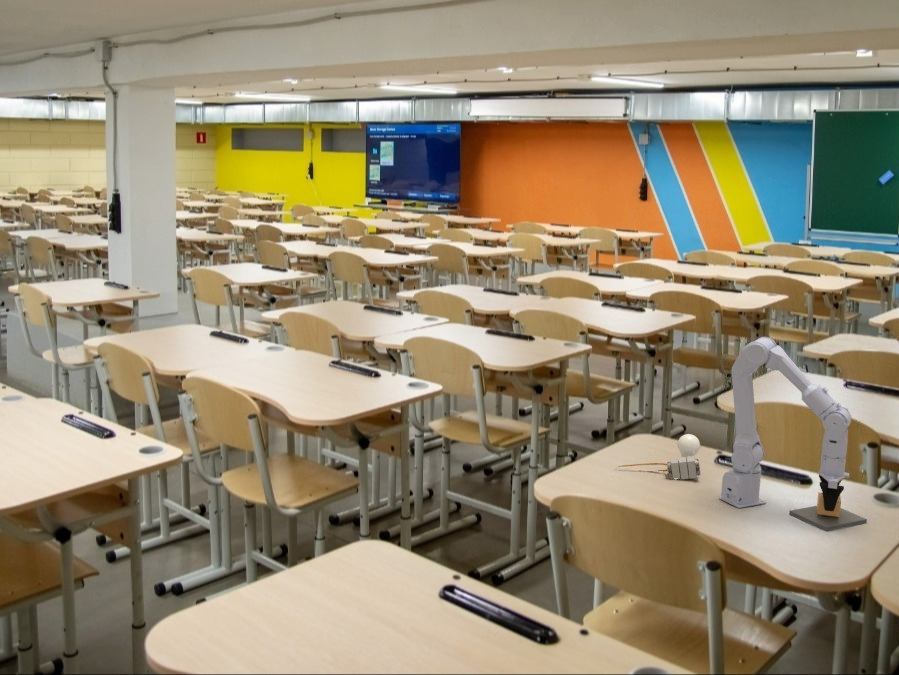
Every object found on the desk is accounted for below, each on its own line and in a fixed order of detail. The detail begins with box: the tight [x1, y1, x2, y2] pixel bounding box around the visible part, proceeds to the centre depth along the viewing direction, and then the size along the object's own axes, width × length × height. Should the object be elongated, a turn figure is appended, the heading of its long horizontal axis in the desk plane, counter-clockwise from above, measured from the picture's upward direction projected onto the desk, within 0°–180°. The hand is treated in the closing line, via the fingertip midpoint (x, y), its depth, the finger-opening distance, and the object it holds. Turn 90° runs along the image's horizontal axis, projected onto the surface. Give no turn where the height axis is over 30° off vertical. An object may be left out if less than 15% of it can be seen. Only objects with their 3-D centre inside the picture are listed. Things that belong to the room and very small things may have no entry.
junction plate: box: [788, 505, 868, 532], centre depth 236 cm, size 14×12×4 cm
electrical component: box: [617, 456, 701, 480], centre depth 267 cm, size 24×6×5 cm, turn 77°
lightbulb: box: [677, 433, 701, 460], centre depth 271 cm, size 6×6×11 cm
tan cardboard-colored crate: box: [816, 492, 842, 517], centre depth 236 cm, size 5×5×4 cm
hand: (828, 506), depth 236 cm, fingers closed on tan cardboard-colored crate, 5 cm apart
